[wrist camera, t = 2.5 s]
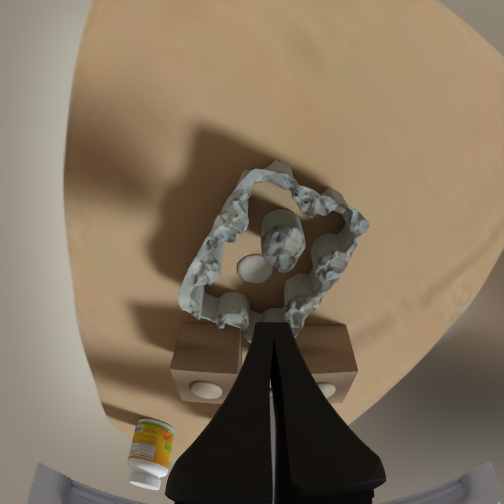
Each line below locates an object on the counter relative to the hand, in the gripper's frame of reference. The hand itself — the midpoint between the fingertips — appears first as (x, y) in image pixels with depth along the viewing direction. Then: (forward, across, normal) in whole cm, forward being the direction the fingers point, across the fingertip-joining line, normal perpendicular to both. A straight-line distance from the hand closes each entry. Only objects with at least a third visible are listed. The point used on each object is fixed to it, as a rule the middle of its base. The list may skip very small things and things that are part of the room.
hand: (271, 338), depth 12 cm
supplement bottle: (+7, +14, +29) cm, 33 cm away
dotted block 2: (+7, -4, +9) cm, 12 cm away
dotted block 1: (+7, +4, +9) cm, 12 cm away
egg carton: (+8, 0, 0) cm, 8 cm away
